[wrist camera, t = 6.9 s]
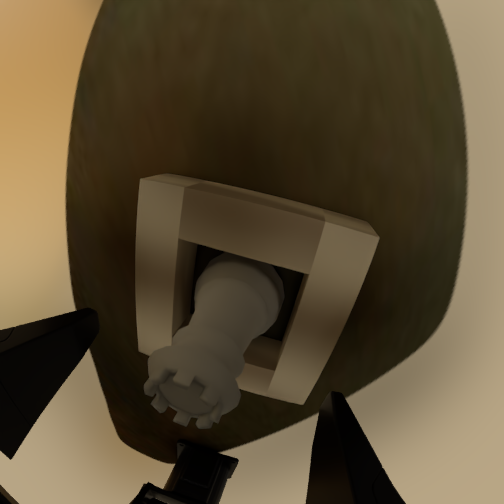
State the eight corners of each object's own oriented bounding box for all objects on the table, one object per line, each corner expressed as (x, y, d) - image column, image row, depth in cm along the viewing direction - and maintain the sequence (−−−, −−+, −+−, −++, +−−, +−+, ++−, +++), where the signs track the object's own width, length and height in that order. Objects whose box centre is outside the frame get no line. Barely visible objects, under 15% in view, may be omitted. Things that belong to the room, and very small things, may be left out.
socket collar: (306, 375, 16) (303, 404, 13) (157, 328, 17) (139, 351, 15) (367, 221, 12) (379, 237, 10) (167, 173, 13) (140, 178, 11)
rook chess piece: (263, 334, 15) (224, 455, 8) (193, 300, 15) (116, 400, 8) (301, 272, 13) (280, 401, 6) (219, 232, 14) (122, 321, 6)
